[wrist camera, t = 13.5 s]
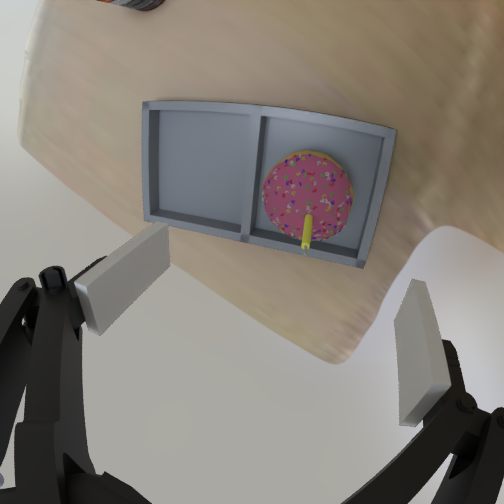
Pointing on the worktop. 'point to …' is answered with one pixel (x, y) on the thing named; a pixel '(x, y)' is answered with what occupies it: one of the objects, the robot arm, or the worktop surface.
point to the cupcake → (308, 196)
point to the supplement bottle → (135, 3)
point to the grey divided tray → (256, 170)
